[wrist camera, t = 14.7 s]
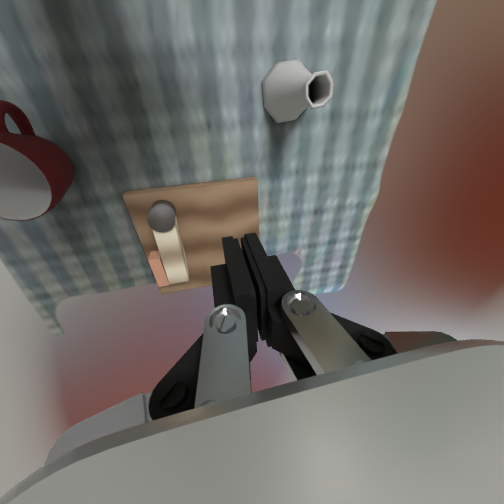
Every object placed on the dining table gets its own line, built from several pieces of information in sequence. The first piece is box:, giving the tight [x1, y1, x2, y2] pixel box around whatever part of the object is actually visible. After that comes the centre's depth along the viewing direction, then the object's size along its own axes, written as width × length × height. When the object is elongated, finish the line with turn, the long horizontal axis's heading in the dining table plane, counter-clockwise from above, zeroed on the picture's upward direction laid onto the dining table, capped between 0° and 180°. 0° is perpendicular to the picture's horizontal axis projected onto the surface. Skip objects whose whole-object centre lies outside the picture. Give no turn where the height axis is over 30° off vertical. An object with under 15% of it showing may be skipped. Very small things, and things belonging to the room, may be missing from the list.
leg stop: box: [148, 251, 169, 287], centre depth 38 cm, size 6×2×2 cm, turn 2°
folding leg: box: [147, 200, 189, 284], centre depth 35 cm, size 14×4×4 cm, turn 1°
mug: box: [0, 100, 74, 221], centre depth 24 cm, size 10×8×10 cm
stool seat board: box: [122, 177, 259, 294], centre depth 40 cm, size 20×20×2 cm
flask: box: [262, 59, 333, 123], centre depth 27 cm, size 7×7×10 cm
